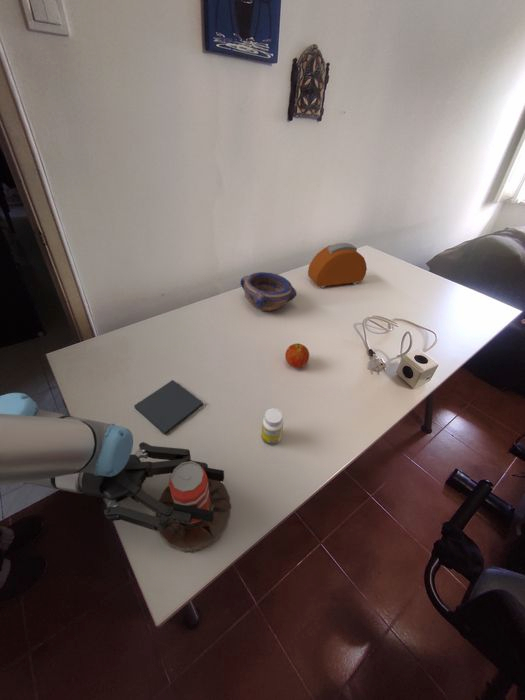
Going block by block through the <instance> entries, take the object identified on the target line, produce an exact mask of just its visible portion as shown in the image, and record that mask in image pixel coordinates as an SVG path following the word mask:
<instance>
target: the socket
mask: <svg viewBox="0 0 525 700" xmlns="http://www.w3.org/2000/svg"><path fill="white" fill-rule="evenodd" d="M208 487H209V496H210V502H211V503H212V509H211V511H213V517H214V518H213V522H207V521H204V522H203V523H201V524H200V525H198V526H194V527H187V526H184V525H181V523H180V522H176V521H173V522H171V523H168V524H167V525H166V527H165V530H164V531H163V532H158V533H159V535H160V537H161V538H162V539H163V541H164V542H165V543H166V544H167V545H168V546H169V547H170V548H172V549H175V550H177V551H180V552H182V553H191V554H193V553H194V552H200V551H202V550H204V549H206V548H208V547H209V546H211V545H213V544H215V543H216V541H218V539H219V538H220V537H221V535H222V534H224V532H225V530H226V528H227V525H228V523H229V520H230V518H231V509H232V503H231V498H230V495H229V492H228V490H227V488H226V486H225V484H224V483H223V482H221V481H216V480H211V479H208ZM158 500H159V501H160V502H162V503H163V504H165V505H166V506H168V507H169V508H171V509H173V506H174V502H173V498H172V495H171V491H170V488H169V485H168V486H166V488H165V489H164V490H163V492H162V494H161V496H160V498H159V499H158ZM154 516H155V517H159V518H160V517H161V516H159V515H158V514H156V513H155V515H154Z"/></svg>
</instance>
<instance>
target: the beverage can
mask: <svg viewBox="0 0 525 700" xmlns="http://www.w3.org/2000/svg"><path fill="white" fill-rule="evenodd" d="M192 461H193V460H192ZM192 461H190V462H184V463H181V464H180V465H179V466H177V467H176V468H175V469H174V471H173V473H171V476H170V478H169V482H168V486H169V488H170V491H171V495H172V498H173V502H174V504H179V505H185V506H190V507H195V508H200V509H205V510H210V506H211V499H210V496H209V487H208V477H207V475H206V473H205V471H204V469H203V467H201V466H200V465H199V464H197V463H194V462H192ZM201 521H202V520H197V519H192V520H191V523H189V524H188V525H191V524H197V523H200V522H201Z"/></svg>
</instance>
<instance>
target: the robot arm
mask: <svg viewBox="0 0 525 700" xmlns="http://www.w3.org/2000/svg"><path fill="white" fill-rule="evenodd" d="M133 435H134V434H133V433H132V431H131V430H130V429H129V428H127V427H124V426H121V425H116V424H115V423H107V422H102V421H97V420H92V419H87V418H82V417H76V416H73V415H67V414H64V413H60V412H59V413H58V412H54V411H50V410H49V411H48V410H44V409H41V408H39V405H38V404H37V402H35V401H34V400H33V398H32V397H30V395H28V394H26V393H23V392H11V393H10V392H9V393H6V394H3V395H0V488H3V487H9V486H15V485H19V484H23V485H28V484H29V485H32V486H33V485H34V486H39V487H45V488H48V489H49V488H50V489H54V490H60V491H65V492H68V493H69V492H70V493H75V494H80V495H83V494H84V495H85V496H89V497H94V498H100V499H106V500H107V501H108V505H107V506H106V508H105V509H103V514H104V516H105V518H106V519H107V521H110V522H115V521H123V522H127V523H129V524H133V525H136V526H139V527H142V528H146V529H148V530H152V531H155V532H158V533H159V532H163V531H164V530H165V527H166V525H167V524H168V523H171V522H173V521H176V522H178V523H180V524H186V525H190V524H189V523H191V520H192V519H197V520H201V521H202V522H206V521H207V522H213V518H214V517H213V511H212V510H210V509H209V510H205V509H200V508H195V507H190V506H185V505H179V504H174V506H173V509H171V508H169V507H168V506H166V505H165V504H163V503H162V502H160V501H159V499H157V498H155V497H154V496H152V494H149V493H148V492H146V491H145V490H143V484H144V483H145V481H146V480H147V478H152V477H154V476H158V475H160V476H161V475H168V474H172V473H173V471H174V469H175V468H176V467H177V466H179V465H180V464H181V463H184V462H190V461H192V462H194V463H197V464H199V465H200V466H201V467H203V469H204V471H205V473H206V475H207V477H208V479H211V480H216V481H220V482H222V483H223V482H224V481H225V470H223V469H217V468H212V467H209V466H208V463H206V462H202V461H197V460H192V457H191V451H190V449H188V448H179V447H167V446H157V445H151V444H149V443H147V442H144V441H143V442H142V441H141V442H140V443H139V444H138V447H139V448H138V449H137V451H136V452H135V453H134V454H132V451H133V449H134V447H133V446H134V436H133ZM148 458H149V459H155V460H161V461H150V460H149V461H148V460H147V461H142V460H141V459H148ZM129 498H131V499H132V500H133V501H135V502H137V503H139V504H141V505H143V506H144V507H145V508H147V509H149V510H150V511H151V512H153V513H155V515H152V514H148V513H146V512H142V511H138V510H135V509H132V508H129V507H127V506H126V507H125V506H122V505H121V504H120V503H119V502H122V501H124V500H127V499H129ZM156 514H158V515H159V516H161V517H160V518H159V517H155V516H156Z"/></svg>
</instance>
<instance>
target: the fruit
mask: <svg viewBox="0 0 525 700" xmlns="http://www.w3.org/2000/svg"><path fill="white" fill-rule="evenodd" d="M284 355H285V356H284V357H285V361H286V363H287V364H288V365H289V366H290V367H293V368H303V367H305V366H306V365H307V363H308V362H309V359H310V352H309V349H308V347H307V346H306V345H304V344H302V343H298V342H297V343H293V344H290V345H289V346H288V347H287V349H286V351H285V354H284Z"/></svg>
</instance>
